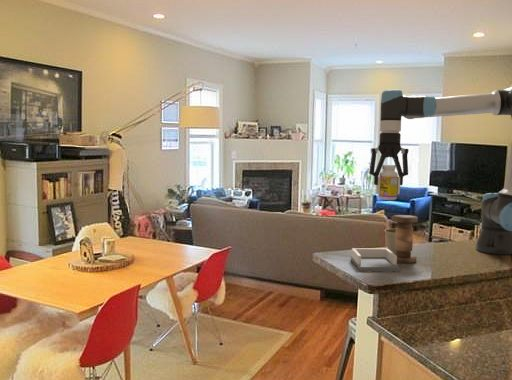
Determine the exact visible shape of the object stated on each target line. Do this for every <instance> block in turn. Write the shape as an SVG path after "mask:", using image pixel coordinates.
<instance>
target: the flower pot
mask: <svg viewBox="0 0 512 380" xmlns="http://www.w3.org/2000/svg"><path fill="white" fill-rule="evenodd" d="M384 232H385V233H384V234H385V235H386V243H387V245H386V246H387V248H388V249H389V250H390V251H391V252H393V253H394V254H396V251H397V250H395V236H396V228H387V229H384Z"/></svg>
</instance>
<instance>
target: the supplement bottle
mask: <svg viewBox="0 0 512 380" xmlns="http://www.w3.org/2000/svg"><path fill="white" fill-rule="evenodd" d="M379 177H380V194H378V199H380V200H383V201H384V200H386V201H395V200H397V198H398V194H397V182H398V177H399V175H398V172H397V171H396V166H395V164H383V165H382V171H380V173H379Z"/></svg>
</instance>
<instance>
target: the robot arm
mask: <svg viewBox="0 0 512 380" xmlns="http://www.w3.org/2000/svg"><path fill="white" fill-rule="evenodd" d="M480 114H481V115H482V114H492V115H493V116H510V119H511V120H512V86H511V87H508V88H505V89H495V90H493V91H492V92H489V93H477V94H476V93H475V94H463V95H462V94H461V95H453V96H452V95H451V96H438V97H435V96H433V95H404V94H403V91H402V90H401V89H386V90H384V91H383V92H382V93H381V99H380V122H379V125H380V126H379V131H380V132H381V133H380V134H379V142H378V143H379V144H378V146H377V147H374V148H373V147H372V148H371V149H370V153H371V157H370V163H369V164H370V165H369V172H368V174H369V175H371V176H373V184H374V186H376V189H375V191H376V192H375V193H376V194H377V195H379V194H380V173H381V169H383V165H384V163H385V161H386V159H387V158H392V161H393V163H394V165H395V166H396V168H395V170H396V173H397V174H398V182H397V195H400V194H401V193H400V192H401V191H400V190H401V186H403V184H404V177H405V176H406V177H407V176H408V175H409V165H408V154H409V151H410V150H409V148H404V147H402V146H401V135H402V134H401V133H400V132H401V130H402V117H403V118H405V119H407V120H413V119H424V118H436V117H437V118H438V117H451V116H465V115H480ZM510 143H511V144H510V149H509V155H508V161H507V166H506V175H505V180H504V186H503V188H502V189H501V190H500V191H498V192H488V193H485V194H483V196H482V201H481V203H482V204H481V205H482V206H481V229H480V233H479V235H478V238H477V240H476V242H475V250H476V251H478V252H481V253H486V254H493V255H505V256H506V255H512V141H511V142H510ZM378 152H379V153H380V154H381V155H380V158H379V160H378V163H377V165H376V159H377V154H378ZM400 152H401V154H402V155H401V156H402V167H401V163H400V160H399V156H398V155H399V153H400ZM375 165H376V166H375ZM375 167H376V168H375Z"/></svg>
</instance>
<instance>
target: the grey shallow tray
mask: <svg viewBox="0 0 512 380" xmlns="http://www.w3.org/2000/svg"><path fill="white" fill-rule="evenodd" d="M350 255H351V256H350V261H351V260H352V261H351V262H352V263H353V265H354V266H355V265H356V266H357V267H356V266H355V267H356V268H357V270H358V271H359V270H360V271H383V273H385V272H387V273H388V272H389V273H390V272H392V273H395V272H397V273H398V272H399V273H400V268H401V267H400V266H399V265H398V264H397V256H396V255H395V254H394V253H393V252H391V251H390V250H389V249H388V247H387V248H386V247H385V248H383V247H382V248H379V247H378V248H374V247H373V248H372V247H371V248H369V247H367V248H365V247H361V248H360V247H358V248H357V247H356V248H355V247H353V248H351V253H350ZM360 271H359V272H360ZM393 271H394V272H393Z"/></svg>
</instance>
